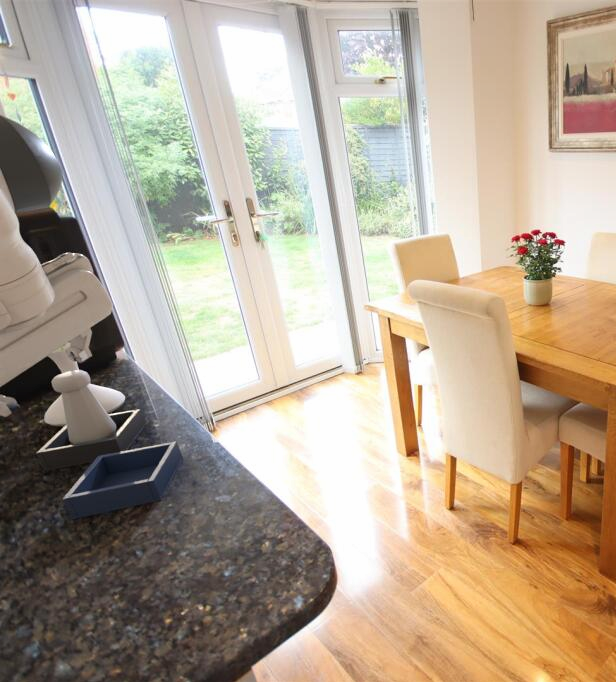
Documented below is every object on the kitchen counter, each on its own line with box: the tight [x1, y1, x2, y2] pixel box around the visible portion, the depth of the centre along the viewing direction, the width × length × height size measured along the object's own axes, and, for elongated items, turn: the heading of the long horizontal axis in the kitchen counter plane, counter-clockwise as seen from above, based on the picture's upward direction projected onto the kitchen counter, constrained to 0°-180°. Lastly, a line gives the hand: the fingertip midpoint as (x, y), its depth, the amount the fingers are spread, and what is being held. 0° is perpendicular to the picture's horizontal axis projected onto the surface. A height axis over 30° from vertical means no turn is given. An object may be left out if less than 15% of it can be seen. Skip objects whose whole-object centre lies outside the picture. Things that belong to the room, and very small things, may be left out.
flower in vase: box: [43, 341, 126, 427], centre depth 80 cm, size 13×11×25 cm
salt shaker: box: [51, 369, 116, 444], centre depth 73 cm, size 6×6×13 cm
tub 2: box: [61, 441, 184, 520], centre depth 65 cm, size 10×10×3 cm
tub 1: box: [35, 408, 147, 472], centre depth 75 cm, size 10×10×3 cm
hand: (47, 383), depth 56 cm, fingers open, 8 cm apart
